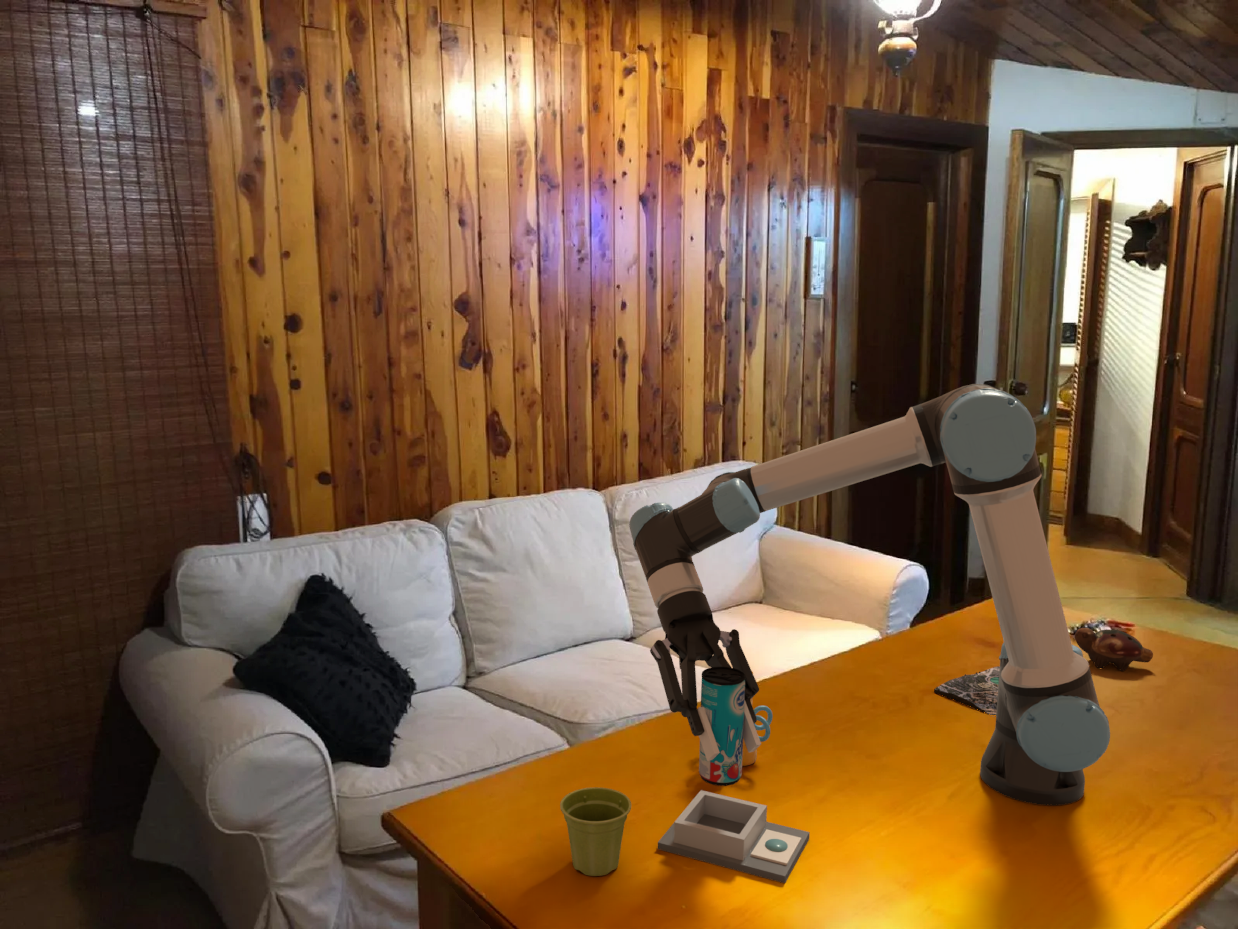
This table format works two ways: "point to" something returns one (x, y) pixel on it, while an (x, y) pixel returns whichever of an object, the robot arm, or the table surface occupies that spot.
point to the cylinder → (751, 756)
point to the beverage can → (723, 724)
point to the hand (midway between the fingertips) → (734, 752)
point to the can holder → (735, 837)
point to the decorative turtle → (1112, 648)
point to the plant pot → (595, 828)
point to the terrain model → (974, 690)
